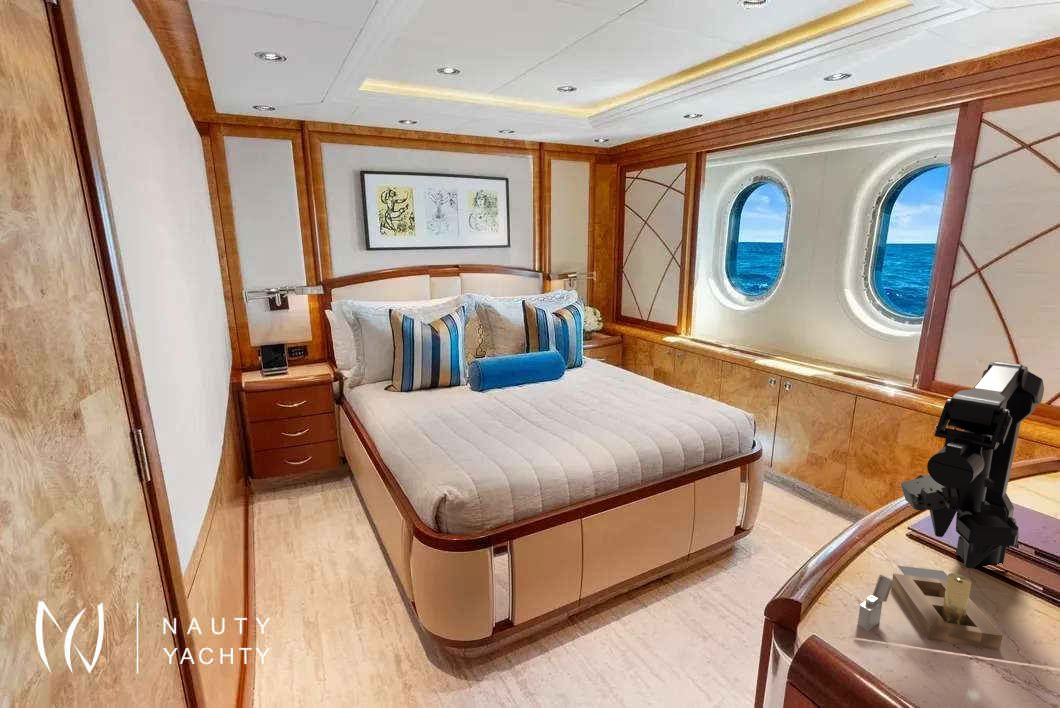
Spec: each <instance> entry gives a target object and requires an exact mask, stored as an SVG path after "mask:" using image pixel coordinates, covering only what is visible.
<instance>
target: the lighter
mask: <svg viewBox="0 0 1060 708" xmlns="http://www.w3.org/2000/svg"><path fill="white" fill-rule="evenodd" d="M876 581H877V582H876V584H875V586H874V590H873V592H872V594H871V595H869V596H867V597H866V598H865V600H864V601H863V602H861V603H860V604H859V610H858V611H859V612H858V618H857V626H858V627H860V628H861V629H863V630H865V631H867V632H869V631H870V630H872V629H873V628H874V627H876V626H877V625H878V624H880V623H881V615H882V608H883V602H884V603H885V602H886V603H887V600H888V597H889V595H890V592H891V589H892V584H893V579H892V577H891V578H890V577H888V576H886V575H884V574H879V575H878V579H877V580H876Z"/></svg>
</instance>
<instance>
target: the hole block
mask: <svg viewBox="0 0 1060 708" xmlns="http://www.w3.org/2000/svg"><path fill="white" fill-rule="evenodd" d="M891 579H893V584H892V587H891V589H893V591H894V592H895V594H896V595H897V596H898V598H899V599H900V602H902V605H904V606H905V609H907V611H908V612H909V614H910V616H911V617H912V618H913V620H914V622H915V623H916V624H917V626H918V627H919V629H920V630H921V632H922V634H923V635H924V636H925V637H926V639H927V640H928V641H934V642H935V641H936V642H940V643H948V644H954V645H960V646H967V647H975V648H980V649H981V648H982V649H987V650H994V651H1001V646H1002V640H1003V634H1002V633H1001V632H1000V631H999V629H997V628H996V626H994V624H993V623H992V622H991V621H990V620H989V618H988V617H987V616H986V615H985V614H984V613H983V612H982V610H980V608H979V607H978V606H977V605H976V604H975V602H974V601H973V600H972V599H971V598H970V597H969V600H968V605H967V611H966V616H965V622H964V625H958V624H950V623H945V621H944V620H943V619H942V617H941V615H942V609H943V603H944V597H945V591H946V585H947V580H942V579H934V578H926V577H918V576H910V575H904V574H901V573H893V574H892V577H891Z"/></svg>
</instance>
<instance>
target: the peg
mask: <svg viewBox="0 0 1060 708" xmlns="http://www.w3.org/2000/svg"><path fill="white" fill-rule="evenodd" d="M947 576H948V579H947V585H946V591H945V597H944V603H943V609H942V615H941V617H942V619H943V620H944V621H945V623H950V624H958V625H964V622H965V616H966V611H967V605H968V600H969V598H970V593H971V590H972V589H971V588H972V583H973V582H972V580H971V579H969V578H968V577H967V576H964V575H962V574H960V573H959V574H958V573H954V572H952V573H948V574H947Z"/></svg>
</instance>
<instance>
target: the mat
mask: <svg viewBox="0 0 1060 708" xmlns="http://www.w3.org/2000/svg"><path fill="white" fill-rule="evenodd" d="M897 567H898V568H899V569H900V570H901V572H902V573H903V575H910V576H918V577H926V578H934V579H942V580H947V579H948V574H947V573H946V572H945V571H944V570H940V569H931V568H922V567H914V566H908V565H907V566H905V565H897Z"/></svg>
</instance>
